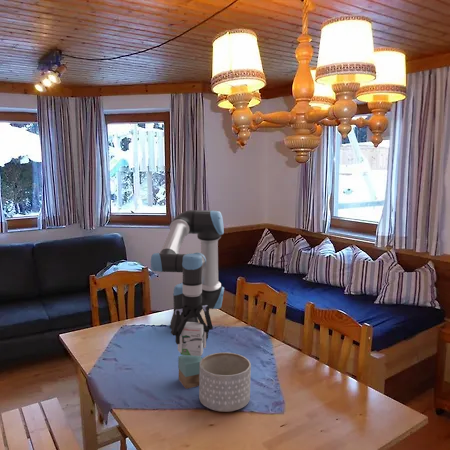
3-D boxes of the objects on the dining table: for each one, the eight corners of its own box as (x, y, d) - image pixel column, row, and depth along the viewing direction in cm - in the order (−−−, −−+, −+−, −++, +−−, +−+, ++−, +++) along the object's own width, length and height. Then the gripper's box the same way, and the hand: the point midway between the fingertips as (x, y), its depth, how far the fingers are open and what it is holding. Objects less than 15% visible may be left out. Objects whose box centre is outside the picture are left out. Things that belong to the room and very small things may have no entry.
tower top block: (196, 364, 172) (197, 352, 172) (204, 372, 165) (204, 360, 165) (178, 368, 169) (178, 356, 168) (185, 377, 162) (185, 364, 161)
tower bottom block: (197, 375, 173) (197, 364, 172) (204, 384, 166) (204, 372, 165) (178, 379, 170) (178, 368, 169) (185, 389, 163) (185, 377, 162)
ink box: (179, 355, 165) (179, 326, 163) (182, 349, 169) (182, 321, 168) (201, 356, 164) (201, 327, 162) (203, 350, 169) (203, 322, 167)
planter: (210, 383, 167) (210, 349, 165) (255, 392, 160) (256, 357, 158) (190, 408, 149) (190, 370, 147) (240, 420, 143) (241, 380, 141)
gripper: (214, 288, 172) (213, 340, 175) (161, 294, 162) (162, 350, 165) (222, 293, 165) (221, 347, 168) (168, 300, 155) (168, 358, 158)
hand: (191, 349), depth 166 cm, fingers closed on ink box, 9 cm apart
